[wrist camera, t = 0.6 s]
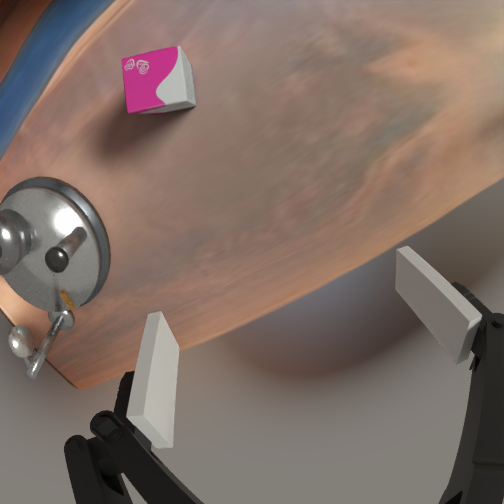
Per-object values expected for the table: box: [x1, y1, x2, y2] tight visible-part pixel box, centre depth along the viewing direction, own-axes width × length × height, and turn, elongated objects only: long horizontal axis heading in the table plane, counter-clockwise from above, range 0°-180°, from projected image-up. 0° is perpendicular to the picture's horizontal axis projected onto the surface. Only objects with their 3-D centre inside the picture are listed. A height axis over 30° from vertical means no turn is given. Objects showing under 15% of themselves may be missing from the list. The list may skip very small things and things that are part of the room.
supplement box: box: [122, 46, 196, 114], centre depth 28 cm, size 6×6×12 cm
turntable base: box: [0, 177, 111, 306], centre depth 39 cm, size 22×22×1 cm
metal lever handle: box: [8, 310, 75, 381], centre depth 38 cm, size 10×5×15 cm, turn 19°
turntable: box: [0, 186, 102, 312], centre depth 34 cm, size 20×20×10 cm
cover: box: [0, 209, 31, 275], centre depth 32 cm, size 8×8×6 cm
